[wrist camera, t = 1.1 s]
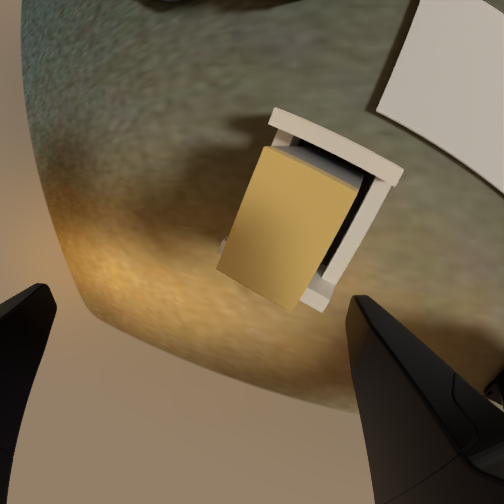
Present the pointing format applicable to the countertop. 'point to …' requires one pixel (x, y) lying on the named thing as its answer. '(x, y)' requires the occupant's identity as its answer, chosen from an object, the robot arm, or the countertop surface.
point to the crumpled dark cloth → (169, 0)
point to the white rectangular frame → (385, 177)
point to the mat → (453, 83)
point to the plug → (288, 221)
